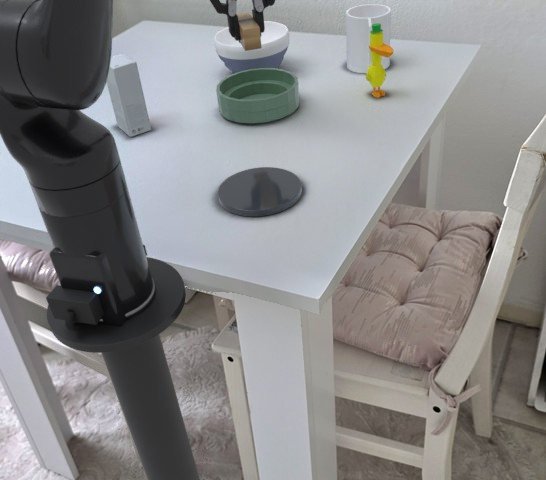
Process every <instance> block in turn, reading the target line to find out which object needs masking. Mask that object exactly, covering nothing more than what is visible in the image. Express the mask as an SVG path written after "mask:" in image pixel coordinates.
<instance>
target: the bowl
mask: <svg viewBox="0 0 546 480" xmlns="http://www.w3.org/2000/svg"><path fill="white" fill-rule="evenodd" d="M264 26H265V30H264V32H262V33H261V47H262V48H260V49H255V50H249V51H245V50H244V48H243V47H242V45H241V43H239V41H236V40H235V38H234V37H232V36H231V34H230V33H229V27H228V26H227V27H224V28H222V29H220V30H219V31H217V32H216V33H215V35H214V37H213V45H214V49H215V52H216V55H217V56H218V57H219V59H220V60H221V62H223V63H224V66H225V67H226V68H227V69H228V70H229V71H231V73H232V74H235V73H237V72H240V71H245V70H249V69H257V68H277V69H279V66H280V65H281V64H282V62H283V61H284V59H285V55H286V53H287V51H288V49H289V45H290V31H289V28H288V27H287V26H286V24H283V23H281V22H277V21H270V20H264Z"/></svg>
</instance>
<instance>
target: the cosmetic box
mask: <svg viewBox="0 0 546 480" xmlns="http://www.w3.org/2000/svg"><path fill="white" fill-rule="evenodd" d="M141 81H142V80H141V77H140V72H139V67H138V63H137V61H136V60H134V59H132V58H131V57H129V56H127V55H126V54H124V53H119V54H116V55H113V56H112V55H111V62H110V68H109V73H108V78H107V82H106V86H107V90H108V94H109V98H110V102H111V105H112V109H113V113H114V117H115V121H116V125H117V127H118V128H119V129H120V130H121V131H123V133H125V134H126V135H127V136H128V137H130V138H132V137H135V136H138V135H141V134H143V133H146V132H149V131H152V126H151V122H150V116H149V112H148V108H147V104H146V99H145V94H144V90H143V85H142V82H141Z"/></svg>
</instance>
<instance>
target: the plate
mask: <svg viewBox="0 0 546 480" xmlns="http://www.w3.org/2000/svg"><path fill="white" fill-rule="evenodd" d="M302 189H303V188H302V182H301V179H300V178H299V177H298V176H297V175H296V174H295V173H293V172H292V171H290V170H287V169H285V168H279V167H273V166H271V167H270V166H262V167H254V168H248V169H245V170H241V171H238V172H236V173H234V174H232V175H230V176H228V177H227V178H226V179H224V181H222V182H221V184H220V185H219V187H218V189H217V197H218V202H219V204H220V206H221V207H222V208H223V209H224V210H226V211H227V212H228V213H231V214H234V215H237V216H242V217H252V218H253V217H266V216H271V215H275V214H279V213H281V212H283V211H286V210H287V209H289V208H291V207H292V206H293V205H295V204H296V203H297V202H298V201H299V199H300V198H301V196H302V193H303V192H302V191H303V190H302Z"/></svg>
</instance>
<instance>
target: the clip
mask: <svg viewBox="0 0 546 480" xmlns="http://www.w3.org/2000/svg"><path fill="white" fill-rule="evenodd" d="M236 14H237V16H238V22H239V30H240V40H238V41H239V43H241V45H242V47H243V48H244V50H245V51H249V50H255V49H260V48H262V47H261V36H260V27H259V26H258V24H257V23H256V22H255V20H254V18H253V15H251V13H250V12H242V13H236Z"/></svg>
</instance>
